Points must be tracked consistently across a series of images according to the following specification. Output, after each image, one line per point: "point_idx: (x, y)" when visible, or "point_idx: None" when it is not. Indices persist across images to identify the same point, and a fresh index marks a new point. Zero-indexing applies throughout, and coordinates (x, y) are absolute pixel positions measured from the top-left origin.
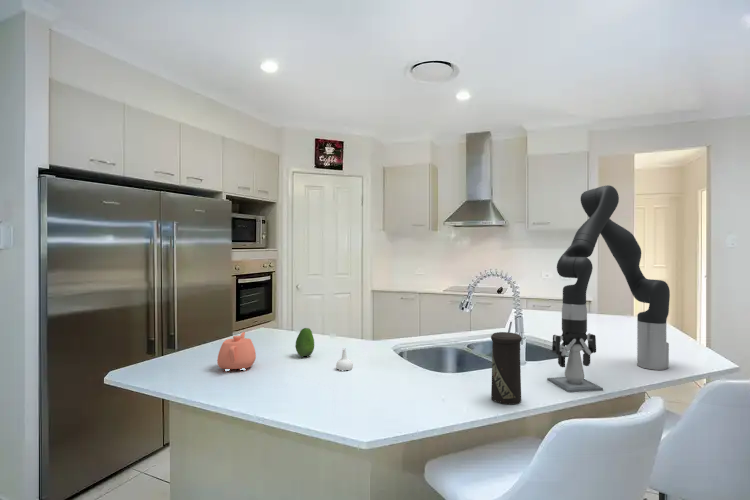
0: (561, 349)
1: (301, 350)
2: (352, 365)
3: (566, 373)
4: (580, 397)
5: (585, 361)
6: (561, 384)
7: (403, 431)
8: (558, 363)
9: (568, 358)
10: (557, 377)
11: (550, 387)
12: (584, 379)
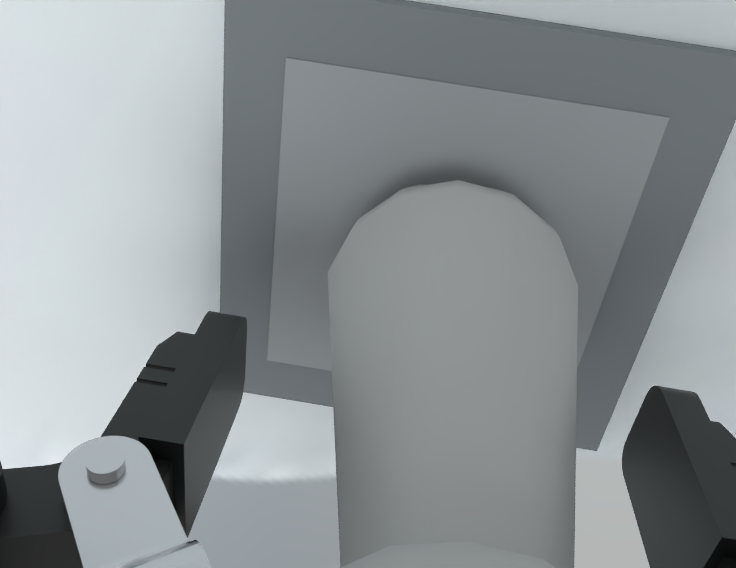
0: (126, 563)
1: None
2: None
3: (329, 293)
4: (255, 472)
5: (650, 479)
6: (252, 255)
7: None
8: (161, 350)
9: (349, 431)
10: (392, 5)
11: (131, 214)
12: (685, 196)
